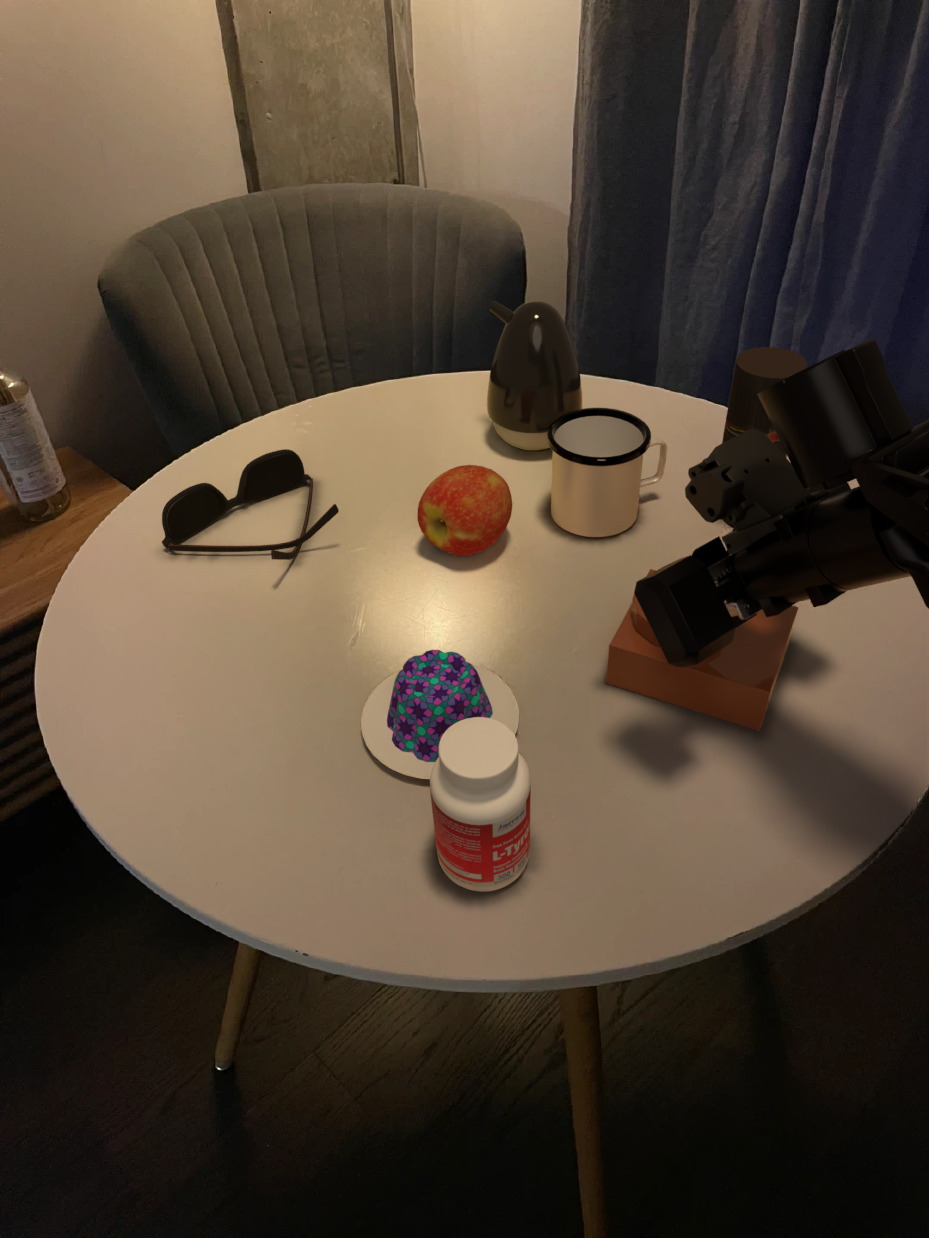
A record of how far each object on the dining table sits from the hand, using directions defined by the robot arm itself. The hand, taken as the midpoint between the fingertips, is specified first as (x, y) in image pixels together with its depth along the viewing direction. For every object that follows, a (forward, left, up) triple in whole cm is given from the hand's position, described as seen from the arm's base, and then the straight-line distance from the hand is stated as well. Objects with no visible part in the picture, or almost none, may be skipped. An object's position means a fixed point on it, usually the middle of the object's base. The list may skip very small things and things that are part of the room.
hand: (683, 589), depth 67 cm
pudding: (+14, +14, -7) cm, 21 cm away
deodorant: (0, -23, -7) cm, 24 cm away
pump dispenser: (+24, -27, -7) cm, 37 cm away
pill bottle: (+6, +23, -7) cm, 25 cm away
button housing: (-2, 0, -7) cm, 7 cm away
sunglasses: (+40, 0, -7) cm, 41 cm away
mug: (+12, -17, -7) cm, 22 cm away
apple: (+22, -7, -7) cm, 24 cm away
